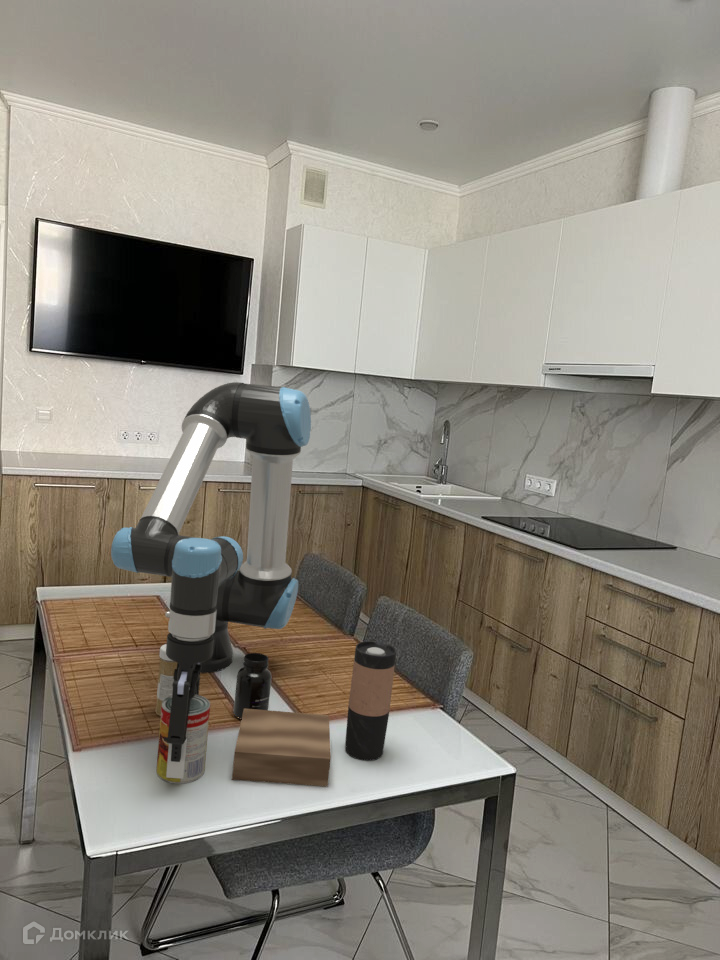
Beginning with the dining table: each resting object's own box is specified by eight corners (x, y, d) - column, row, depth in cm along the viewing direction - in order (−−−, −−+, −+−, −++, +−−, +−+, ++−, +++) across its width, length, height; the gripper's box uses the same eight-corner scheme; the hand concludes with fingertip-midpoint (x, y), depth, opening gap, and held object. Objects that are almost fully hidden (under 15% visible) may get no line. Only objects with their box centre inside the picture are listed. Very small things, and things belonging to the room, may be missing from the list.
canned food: (180, 753, 130) (185, 689, 128) (214, 769, 126) (220, 703, 125) (146, 771, 123) (151, 703, 122) (181, 789, 119) (187, 719, 118)
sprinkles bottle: (161, 705, 147) (166, 640, 145) (183, 710, 146) (188, 645, 144) (150, 715, 142) (155, 648, 141) (172, 720, 142) (178, 653, 140)
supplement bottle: (261, 725, 144) (266, 666, 142) (227, 718, 145) (233, 660, 143) (272, 710, 150) (278, 654, 149) (240, 704, 151) (245, 648, 150)
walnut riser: (241, 733, 139) (243, 708, 139) (326, 739, 141) (329, 715, 140) (232, 779, 124) (234, 751, 123) (327, 786, 125) (330, 758, 124)
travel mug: (354, 764, 133) (367, 658, 130) (336, 743, 140) (348, 642, 137) (391, 758, 137) (404, 654, 134) (372, 738, 143) (384, 639, 141)
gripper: (179, 610, 132) (170, 729, 135) (153, 656, 111) (143, 796, 114) (222, 614, 133) (211, 732, 136) (204, 660, 111) (192, 799, 115)
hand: (180, 761), depth 125 cm, fingers open, 9 cm apart
